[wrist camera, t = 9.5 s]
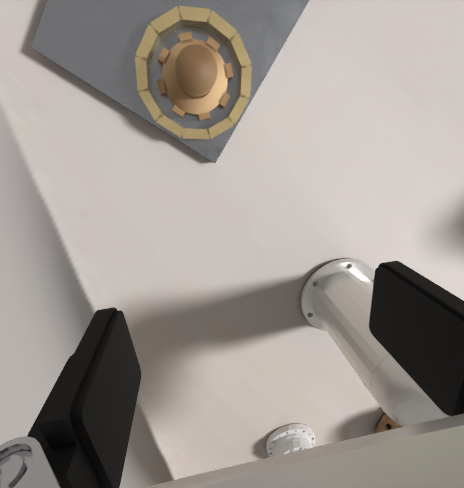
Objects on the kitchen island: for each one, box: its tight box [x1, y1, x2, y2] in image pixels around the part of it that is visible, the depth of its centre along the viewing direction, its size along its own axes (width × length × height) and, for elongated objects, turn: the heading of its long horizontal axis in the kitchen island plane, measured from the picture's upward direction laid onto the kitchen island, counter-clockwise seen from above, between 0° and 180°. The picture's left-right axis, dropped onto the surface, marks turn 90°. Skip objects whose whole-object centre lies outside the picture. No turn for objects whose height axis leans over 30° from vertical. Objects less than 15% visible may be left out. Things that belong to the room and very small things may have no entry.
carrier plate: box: [31, 0, 309, 163], centre depth 26 cm, size 20×22×4 cm
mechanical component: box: [266, 424, 316, 457], centre depth 53 cm, size 10×4×10 cm
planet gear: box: [156, 31, 234, 121], centre depth 26 cm, size 8×8×6 cm
